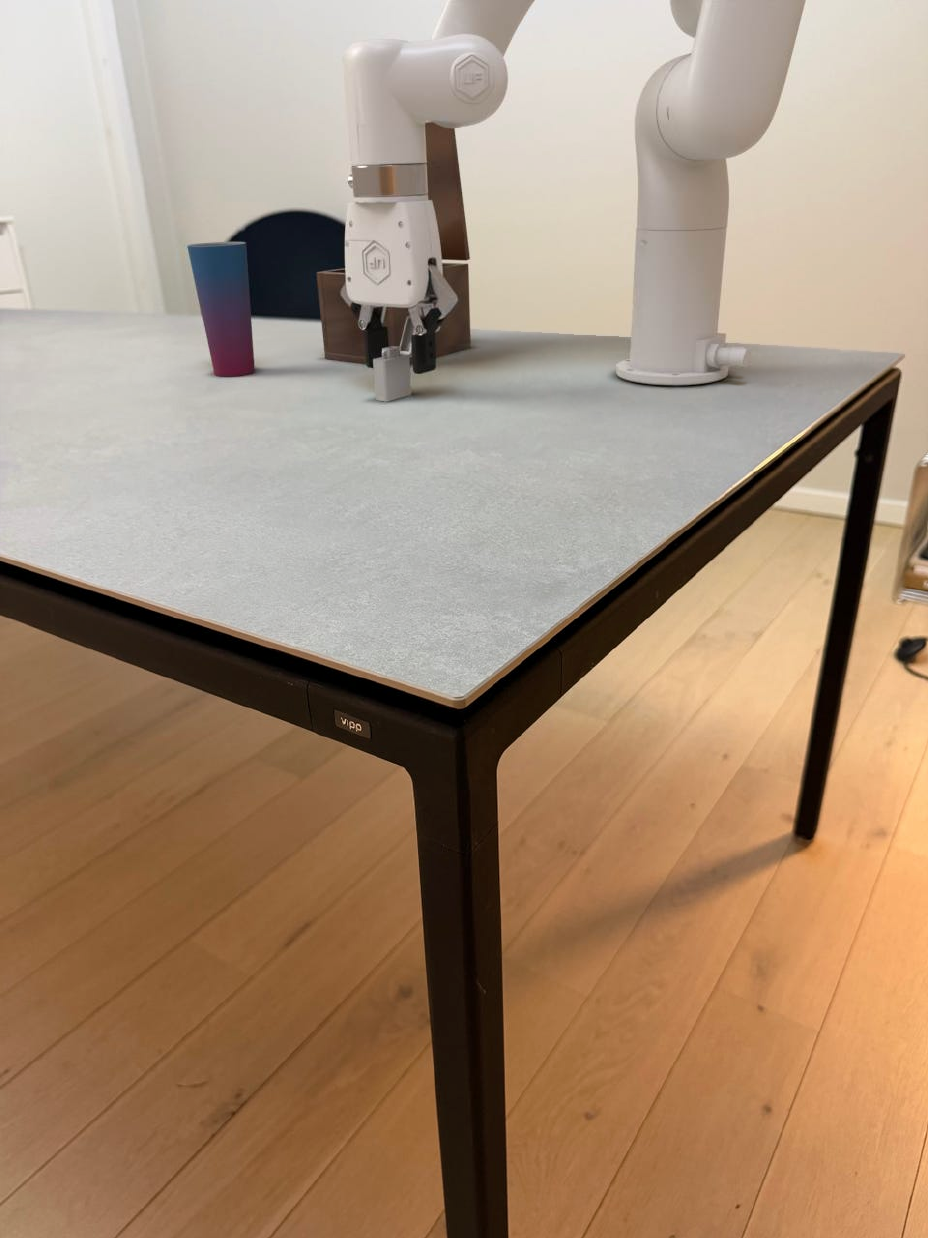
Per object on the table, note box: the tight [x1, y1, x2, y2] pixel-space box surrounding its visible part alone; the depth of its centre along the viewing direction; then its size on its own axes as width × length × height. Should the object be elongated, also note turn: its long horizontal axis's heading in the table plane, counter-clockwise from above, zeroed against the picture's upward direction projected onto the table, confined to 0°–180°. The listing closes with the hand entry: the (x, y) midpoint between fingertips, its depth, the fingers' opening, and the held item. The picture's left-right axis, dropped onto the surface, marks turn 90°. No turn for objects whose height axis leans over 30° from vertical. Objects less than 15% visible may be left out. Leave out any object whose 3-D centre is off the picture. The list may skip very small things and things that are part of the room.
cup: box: [186, 241, 256, 377], centre depth 112 cm, size 7×7×15 cm
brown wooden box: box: [316, 262, 472, 365], centre depth 122 cm, size 16×13×11 cm
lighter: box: [373, 316, 416, 403], centre depth 99 cm, size 7×2×8 cm, turn 141°
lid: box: [386, 121, 471, 262], centre depth 121 cm, size 16×13×5 cm
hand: (401, 366), depth 100 cm, fingers open, 5 cm apart
